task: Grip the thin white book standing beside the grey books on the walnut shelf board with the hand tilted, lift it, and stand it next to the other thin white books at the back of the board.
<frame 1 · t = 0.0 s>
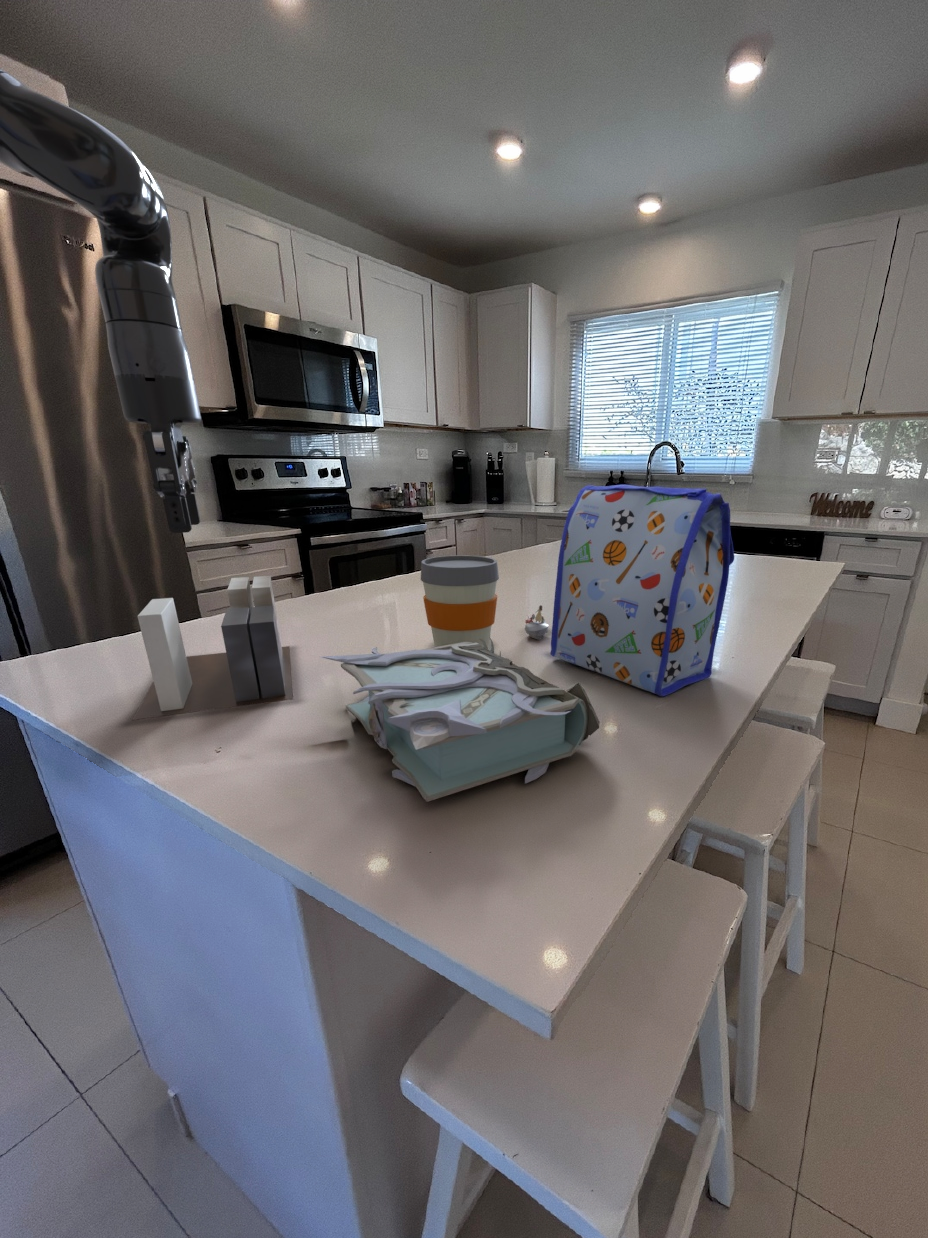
hand: (186, 528, 68), 22 cm above the kitchen island, tool pointing down, fingers open, 8 cm apart
ornate book: (453, 736, 66), on the kitchen island
shelf board: (225, 684, 81), on the kitchen island
reusable coffee cup: (462, 651, 96), on the kitchen island
figurine: (536, 638, 103), on the kitchen island
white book: (177, 697, 73), point 1 cm above the kitchen island, touching shelf board
lunch bag: (631, 668, 88), on the kitchen island
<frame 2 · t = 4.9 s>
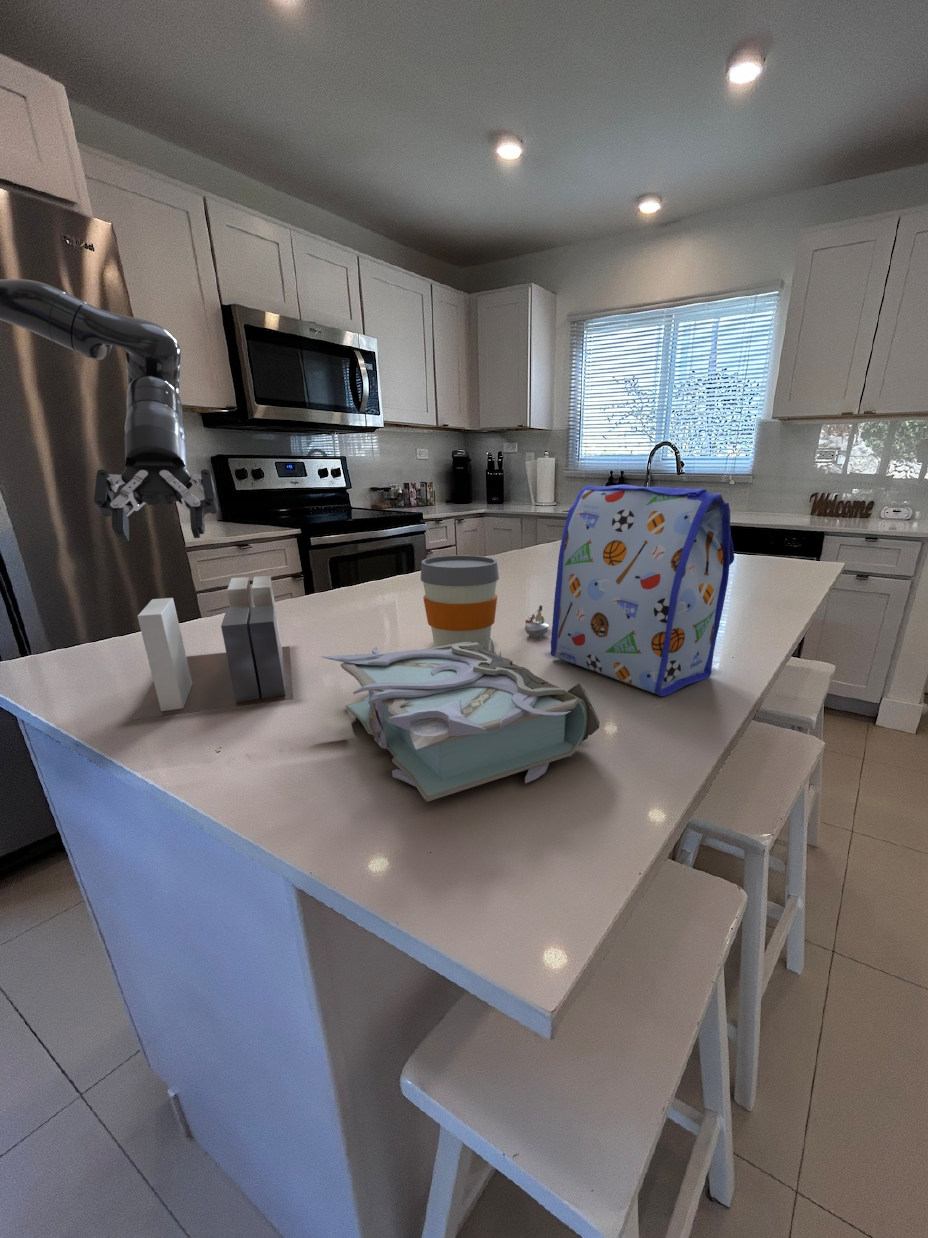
hand: (160, 535, 76), 20 cm above the kitchen island, tool tilted 45°, fingers open, 8 cm apart
nothing on the kitchen island moved.
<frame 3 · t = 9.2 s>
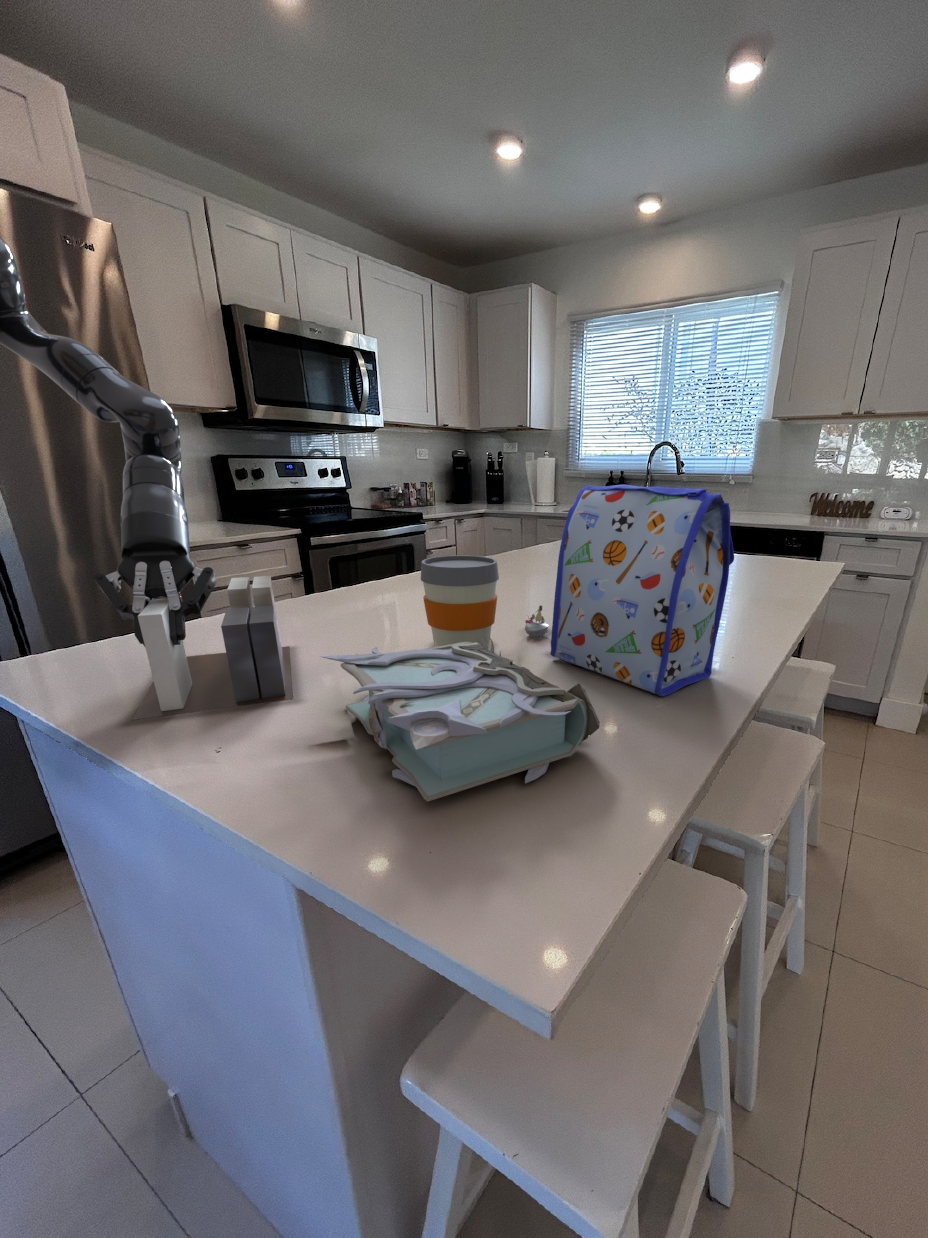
hand: (160, 642, 68), 9 cm above the kitchen island, tool tilted 45°, fingers closed on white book, 2 cm apart
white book: (177, 696, 73), point 1 cm above the kitchen island, touching gripper, shelf board
everything else where it was.
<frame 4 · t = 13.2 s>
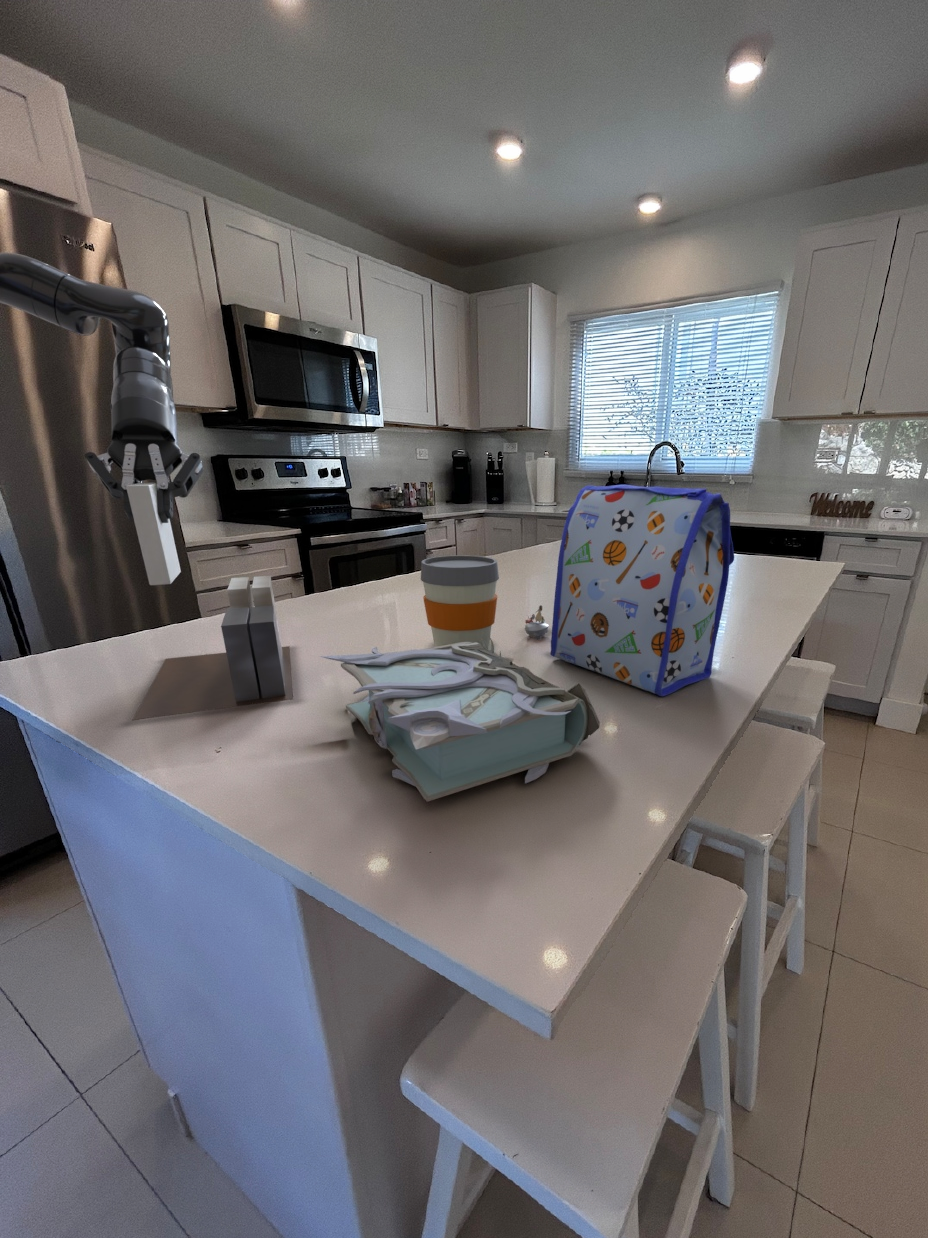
hand: (149, 518, 71), 23 cm above the kitchen island, tool tilted 45°, fingers closed on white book, 2 cm apart
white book: (166, 578, 76), point 15 cm above the kitchen island, touching gripper
everything else where it was.
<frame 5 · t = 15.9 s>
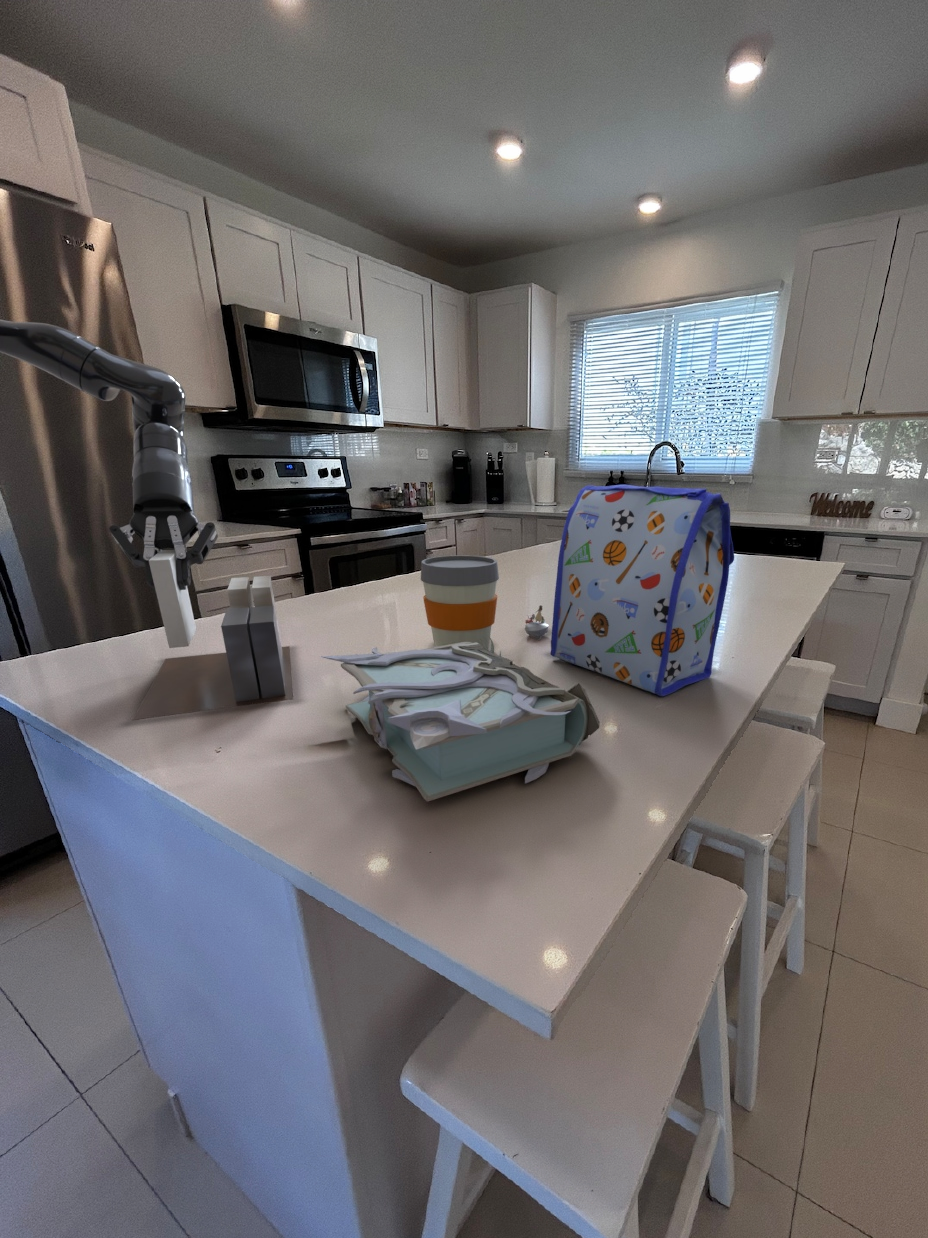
hand: (168, 587, 77), 14 cm above the kitchen island, tool tilted 45°, fingers closed on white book, 2 cm apart
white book: (183, 638, 82), point 6 cm above the kitchen island, touching gripper
everything else where it was.
when the fingers open (9 cm above the kitchen island, at t = 17.4 s): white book stays where it is, resting on shelf board.
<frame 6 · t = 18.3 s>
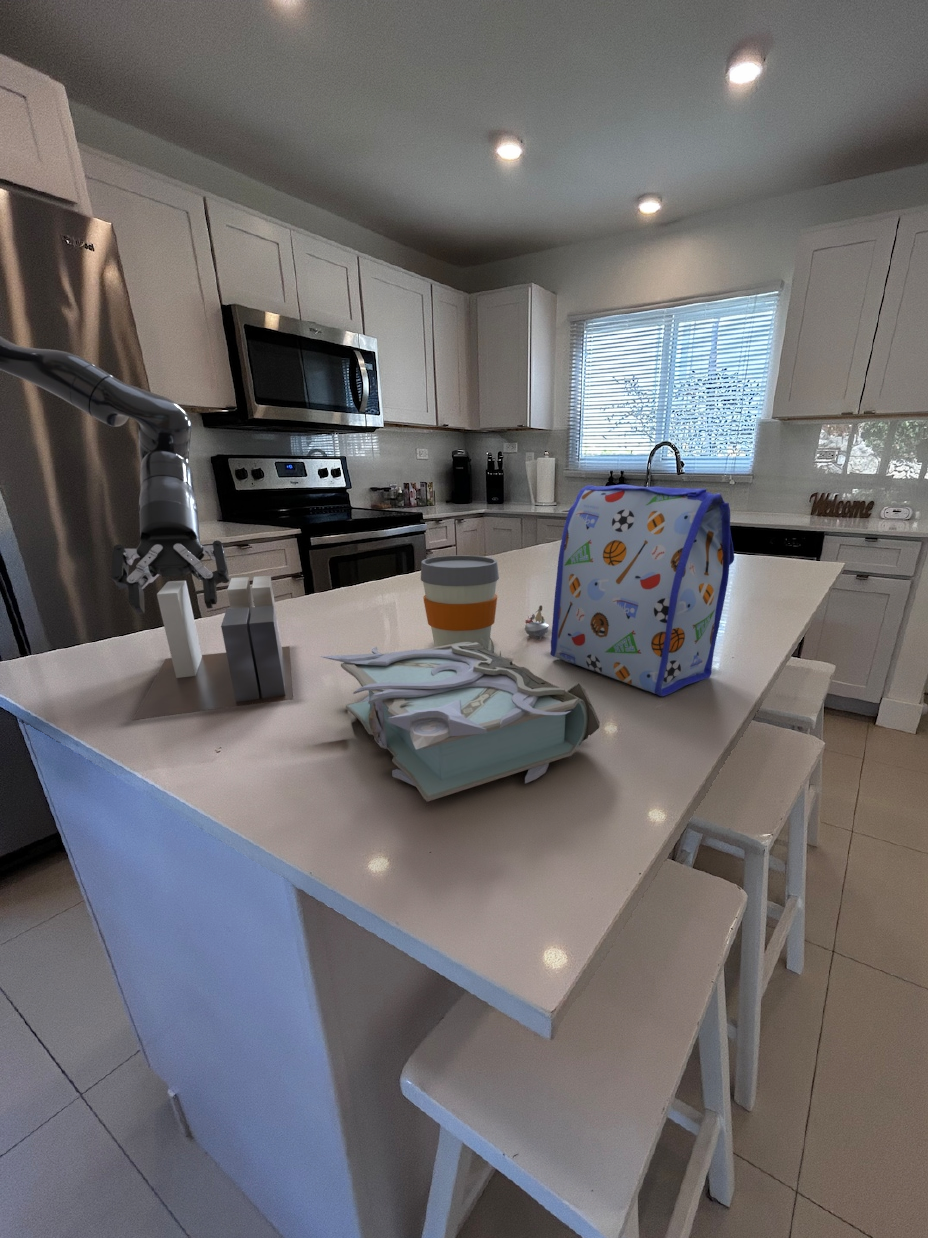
hand: (174, 608, 79), 10 cm above the kitchen island, tool tilted 45°, fingers open, 8 cm apart
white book: (189, 667, 84), point 1 cm above the kitchen island, touching shelf board
everything else where it was.
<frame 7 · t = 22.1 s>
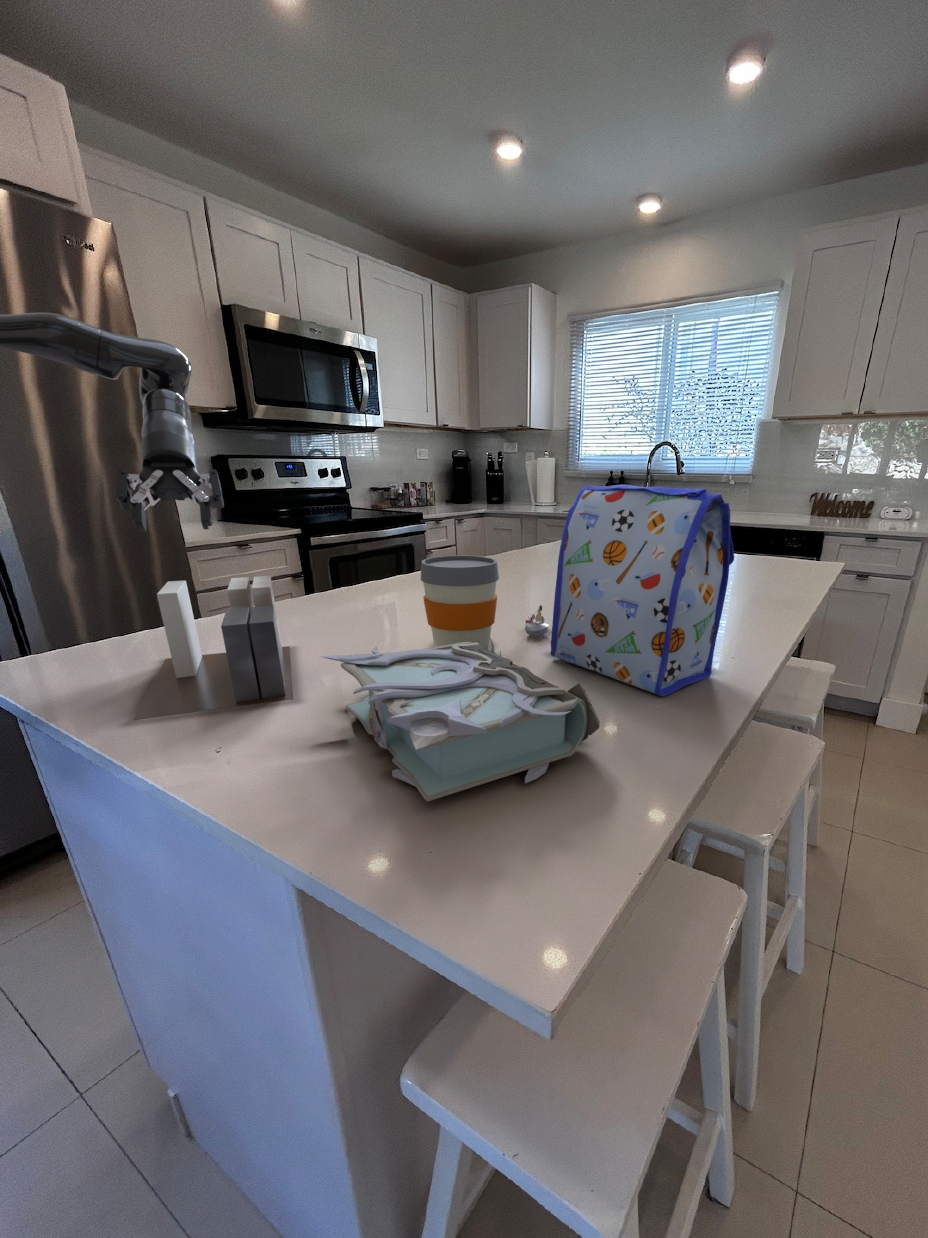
hand: (173, 527, 86), 20 cm above the kitchen island, tool tilted 45°, fingers open, 8 cm apart
nothing on the kitchen island moved.
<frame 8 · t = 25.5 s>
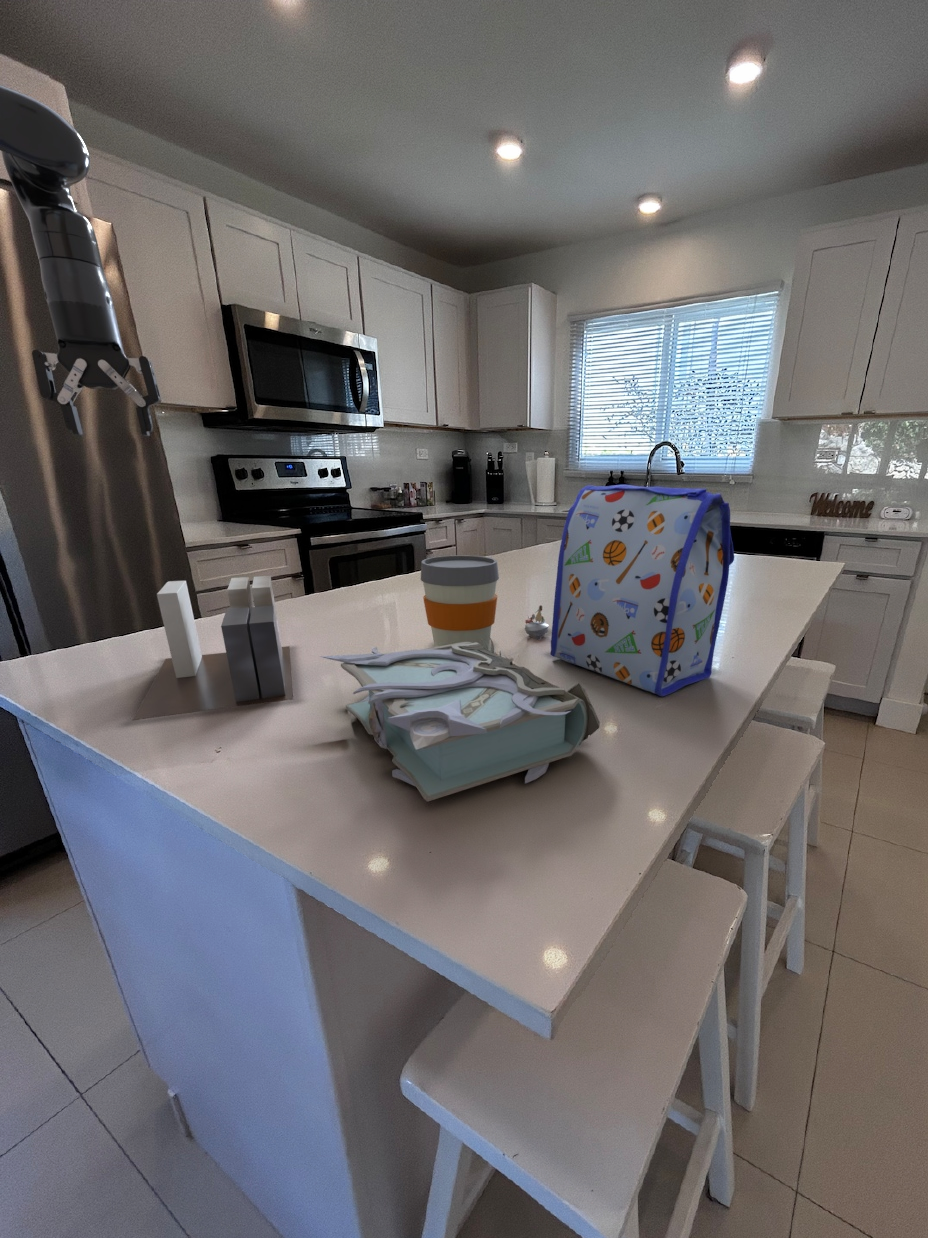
hand: (112, 435, 83), 33 cm above the kitchen island, tool pointing down, fingers open, 8 cm apart
nothing on the kitchen island moved.
at the end: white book inside the target area (0.2 cm from its centre), point 1.2 cm above the kitchen island; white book tilted 0°; the gripper is holding nothing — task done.
